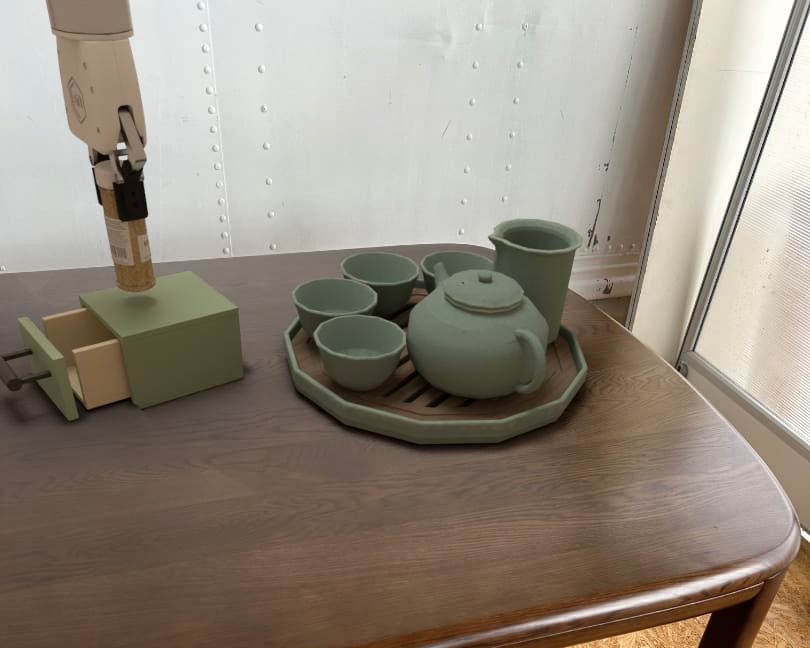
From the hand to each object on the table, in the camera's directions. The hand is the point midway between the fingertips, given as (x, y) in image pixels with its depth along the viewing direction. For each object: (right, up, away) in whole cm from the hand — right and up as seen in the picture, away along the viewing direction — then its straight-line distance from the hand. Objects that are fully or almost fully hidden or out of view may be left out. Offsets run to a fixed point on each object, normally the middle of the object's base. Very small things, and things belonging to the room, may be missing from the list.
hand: (123, 209), depth 87 cm
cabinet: (+1, -15, +14) cm, 20 cm away
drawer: (-7, -18, +8) cm, 21 cm away
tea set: (+35, -13, +19) cm, 42 cm away
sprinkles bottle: (-1, -7, +6) cm, 9 cm away
